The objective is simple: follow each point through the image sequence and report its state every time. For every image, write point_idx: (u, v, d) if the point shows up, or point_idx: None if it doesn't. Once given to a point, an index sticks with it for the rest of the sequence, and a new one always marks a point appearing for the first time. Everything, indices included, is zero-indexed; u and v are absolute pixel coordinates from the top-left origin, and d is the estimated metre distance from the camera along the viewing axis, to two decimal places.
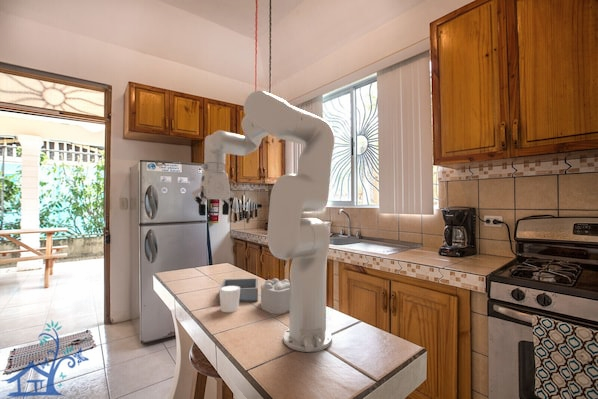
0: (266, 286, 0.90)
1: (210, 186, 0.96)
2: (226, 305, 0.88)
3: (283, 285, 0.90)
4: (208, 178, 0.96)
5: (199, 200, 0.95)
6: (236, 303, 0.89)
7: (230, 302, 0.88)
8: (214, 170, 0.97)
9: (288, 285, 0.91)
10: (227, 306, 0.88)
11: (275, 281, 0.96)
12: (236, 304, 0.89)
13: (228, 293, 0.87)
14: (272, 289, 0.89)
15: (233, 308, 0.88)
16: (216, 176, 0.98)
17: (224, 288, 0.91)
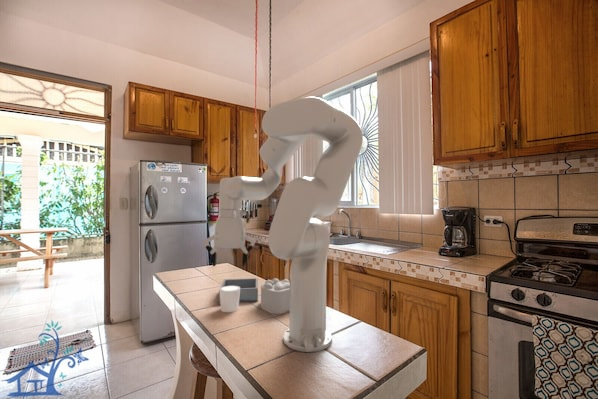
0: (266, 286, 0.90)
1: None
2: (226, 305, 0.88)
3: (283, 285, 0.90)
4: None
5: None
6: (236, 303, 0.89)
7: (230, 302, 0.88)
8: None
9: (288, 285, 0.91)
10: (227, 306, 0.88)
11: (275, 281, 0.96)
12: (236, 304, 0.89)
13: (228, 293, 0.87)
14: (272, 289, 0.89)
15: (233, 308, 0.88)
16: None
17: (224, 288, 0.91)
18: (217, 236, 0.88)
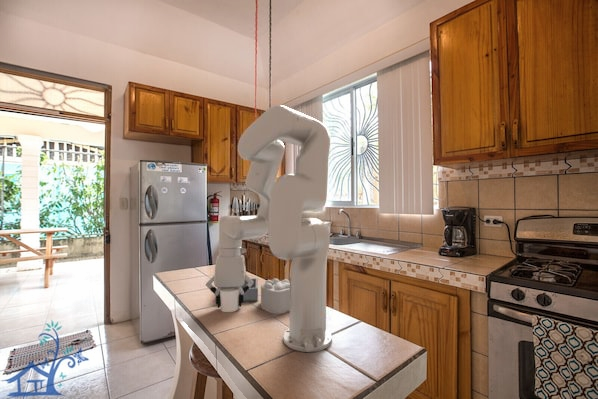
0: (266, 286, 0.90)
1: None
2: (226, 305, 0.88)
3: (283, 285, 0.90)
4: None
5: None
6: (236, 303, 0.89)
7: (230, 302, 0.88)
8: None
9: (288, 285, 0.91)
10: (227, 306, 0.88)
11: (275, 281, 0.96)
12: (236, 304, 0.89)
13: (228, 293, 0.87)
14: (272, 289, 0.89)
15: (233, 308, 0.88)
16: None
17: (224, 288, 0.91)
18: (217, 275, 0.88)
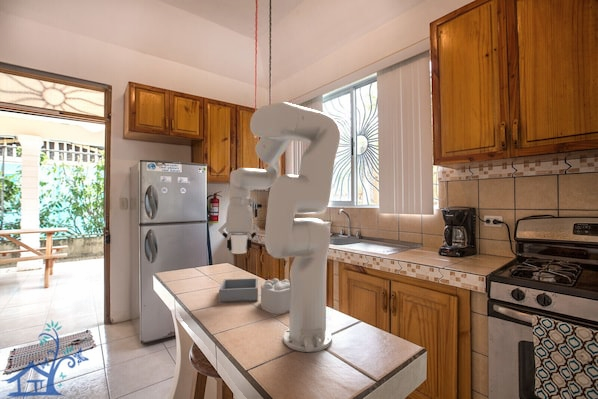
0: (266, 286, 0.90)
1: None
2: (236, 248, 1.00)
3: (283, 285, 0.90)
4: None
5: None
6: (245, 247, 1.02)
7: (240, 245, 1.00)
8: None
9: (288, 285, 0.91)
10: (237, 248, 1.00)
11: (275, 281, 0.96)
12: (245, 247, 1.02)
13: (238, 237, 1.00)
14: (272, 289, 0.89)
15: (242, 250, 1.01)
16: None
17: (234, 234, 1.03)
18: (229, 221, 1.00)
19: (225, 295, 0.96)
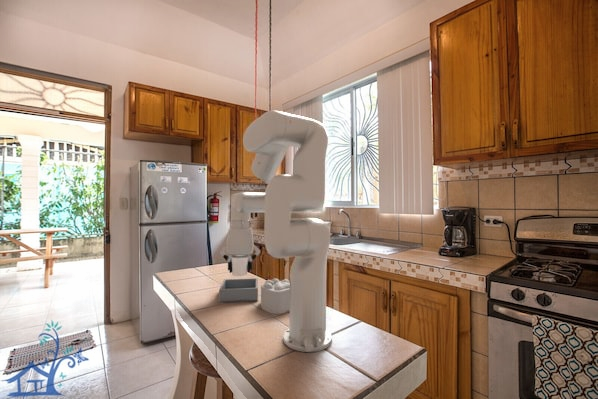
0: (266, 286, 0.90)
1: None
2: (237, 270, 1.01)
3: (283, 285, 0.90)
4: None
5: None
6: (246, 269, 1.03)
7: (240, 267, 1.01)
8: None
9: (288, 285, 0.91)
10: (238, 271, 1.01)
11: (275, 281, 0.96)
12: (245, 269, 1.03)
13: (238, 259, 1.01)
14: (272, 289, 0.89)
15: (243, 272, 1.02)
16: None
17: (235, 256, 1.04)
18: (229, 244, 1.01)
19: (225, 295, 0.96)
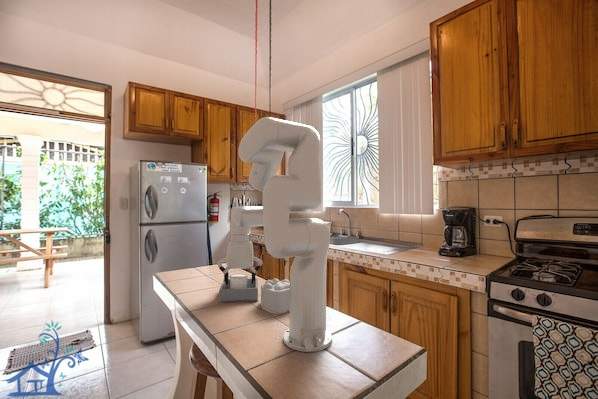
0: (266, 286, 0.90)
1: None
2: None
3: (283, 285, 0.90)
4: None
5: None
6: None
7: None
8: None
9: (288, 285, 0.91)
10: None
11: (275, 281, 0.96)
12: None
13: (237, 280, 1.00)
14: (272, 289, 0.89)
15: None
16: None
17: (233, 276, 1.03)
18: (229, 258, 1.01)
19: (225, 295, 0.96)
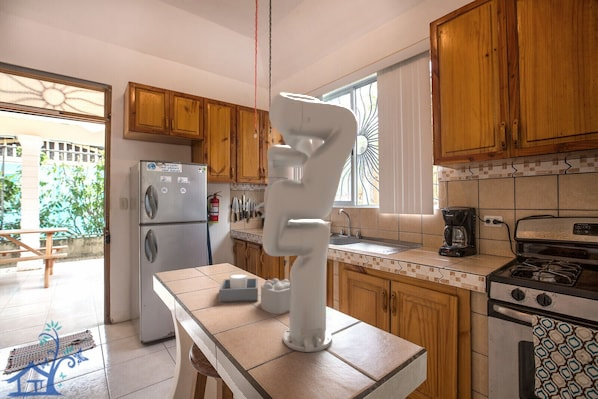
0: (266, 286, 0.90)
1: None
2: None
3: (283, 285, 0.90)
4: None
5: None
6: None
7: None
8: None
9: (288, 285, 0.91)
10: None
11: (275, 281, 0.96)
12: None
13: (237, 280, 1.00)
14: (272, 289, 0.89)
15: None
16: None
17: (233, 276, 1.03)
18: None
19: (225, 295, 0.96)
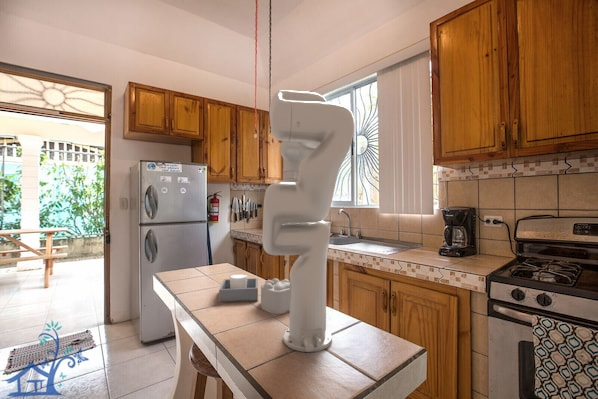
0: (266, 286, 0.90)
1: None
2: None
3: (283, 285, 0.90)
4: None
5: None
6: None
7: None
8: None
9: (288, 285, 0.91)
10: None
11: (275, 281, 0.96)
12: None
13: (237, 280, 1.00)
14: (272, 289, 0.89)
15: None
16: None
17: (233, 276, 1.03)
18: None
19: (225, 295, 0.96)
